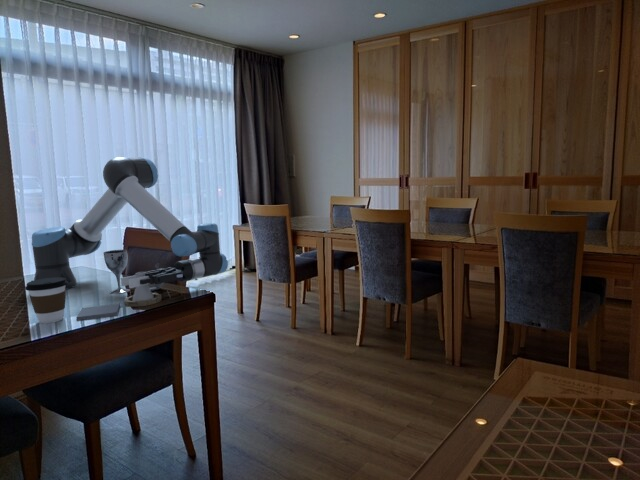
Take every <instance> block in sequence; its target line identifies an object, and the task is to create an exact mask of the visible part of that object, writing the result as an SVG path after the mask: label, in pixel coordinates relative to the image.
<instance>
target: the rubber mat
mask: <svg viewBox="0 0 640 480" xmlns="http://www.w3.org/2000/svg"><path fill="white" fill-rule="evenodd" d="M120 308H121V303H119V302H118V303H114V304H113V303H112V304H105V305H96V306H95V305H94V306H87V307H82V308H81V309H80V311H79V312H78V315H76V321H83V320H84V321H85V320H91V319H92V320H93V319H99V318H107V317H108V318H109V317H114V316H118V314H119V311H120Z"/></svg>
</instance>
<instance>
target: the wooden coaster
mask: <svg viewBox="0 0 640 480" xmlns="http://www.w3.org/2000/svg"><path fill="white" fill-rule="evenodd" d="M152 294H153V296H154V298H153V299H149V300H143V301H132V299H133V296H134V294H133V295H130V296H128V297H125V298H124V301H123V302H124V306H126V307H134V308H135V307H139V308H140V307H147V306H150V305H151V306H152V305H155V304H157V303H158V304H159V303H160V302H161V301H162V294H160V293H158V292H152Z"/></svg>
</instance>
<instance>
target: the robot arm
mask: <svg viewBox="0 0 640 480" xmlns="http://www.w3.org/2000/svg"><path fill="white" fill-rule="evenodd" d="M158 177H159V174H158V168H157V166H156V164H155V163H154V161H152V160H150V159H149V158H145V157H140V156H139V157H136V156H135V157H128V156H127V157H125V156H124V157H123V156H117V157H114V158H112V159H109V160H108V161H107V163H106V164H105V165H104V167H103V169H102V178H103V180H104V183H105V185H106V187H108V188H107V189H106V191H105V192H104V193H103V194H102V196H101V197H100V198H99V199H98V200H97V202H96V203H95V204H94V205H93V206H92V208H91V209H90V210H89V211H88V212H87V213H86V215H85V216H84V217H83V218H81V219H80V218H79V219H77V220H75V222H74V223H73V224H72V225H71V226H70V227H69V228H65V227H63V226H54V227H48V228H43V229H39V230H37V231H34V232H33V233H32V234H31V248H32V251H33V260H34V265H35V266H34V268H35V273H34V277H33V281H34V280H39V279H44V278H54V277H63V278H65V279H66V281H68V284H67V285H65V290H70V289H72V288H75V287H77V285H78V283H77V278H76V276H75V274H74V272H73V271H72V268H71V267H70V265H71V264H70V258H75V257H76V258H77V257H81V256H87V255H90V254H93V253H95V252H96V251H98V250H99V248H100V247H101V245H102V241H101V240H103V239H102V238H103V231H104V230H105V229H106V227H108V225H109V224H110V223H111V222H112V221H113V220H114V218H115V217H116V216H117V215H118V214H119V212H120V211H122V209H123V208H124V206H125V205H127V203H128V204H129V205H130V206H131V207H132V208H133V209H134V210H135V211H136V212H137V213H139V214H140V215H141V216H142V218H144V219H145V220H146V221H147V222H148V223H150V225H152V226H153V228H155V229H156V230H157V231H158V232H159V233H160V234H161V235H163V237H165V239H166V240H167V241H169V243H170V248H171V250H172V253H173V254H174V255H175V256H178V257H189V256H192V255H195V254H198V253H199V257H193V258H188V259H184V260H178V261H176V262H175V263H174V265H173V266H169V267H166V268H163V267H160V268H158V269H157V268H156V269H154V270H153V269H151V270H148V271H145V272H146V274H145V276H144V277H139V278H137V277H136V275H135V274H134V275H129V276H124V277H123V276H122V277H120V285H121V287H126V286H129V289H133V288H136V287H139V286H143V285H148V286H149V285H153V284H154V283H155V284H160V283H164V284H166V283H169V282H174V281H178V282H180V283H184V282H189V281H192V280H195V281H198V279H201V278H205V277H209V276H210V277H211V276H216V275H219V274H222V273H224V272H226V271H227V270H228V266H229V262H228V260H227V257H226V255H225V254H224V253H221V248H220V233H219V227H218V224H217V223H212V222H210V223H207V222H205V223H200V224H198V225H197V230H196V231H191V229H189V228H188V227H187V226H186V225H184V224H183V223H182V221H180V220H179V219H178V218H177V217H176V216H175V215H174V214H173V213H171V211H170V210H168V208H167V207H166V206H164V205H163V204H162V203H161V202H160V201H159V200H158V199H157V198H156V197H154V196H153V195H152V194H151V193H150V192H149V191H148V189H151V188H152V187H154V186H155V185H156V183H157V181H158Z"/></svg>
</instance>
